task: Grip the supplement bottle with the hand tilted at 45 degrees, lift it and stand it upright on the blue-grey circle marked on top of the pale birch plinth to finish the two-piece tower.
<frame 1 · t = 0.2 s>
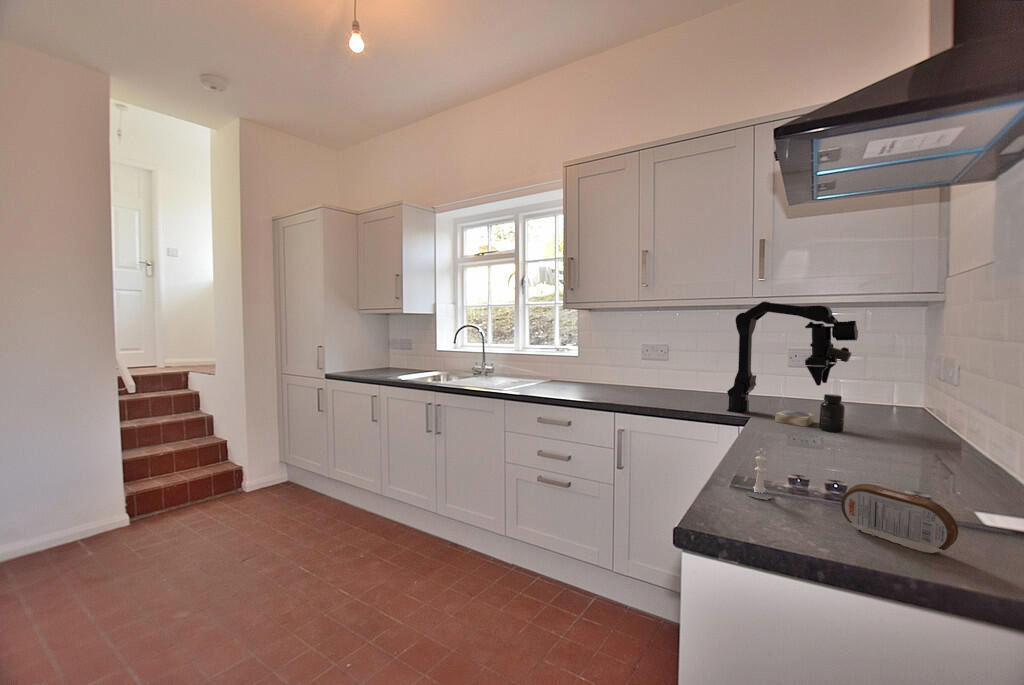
hand: (821, 384, 163), 14 cm above the counter, tool pointing down, fingers open, 9 cm apart
birch plinth: (794, 421, 166), on the counter
tin: (893, 542, 76), on the counter
chess piece: (759, 496, 95), on the counter
supplement bottle: (831, 430, 154), on the counter
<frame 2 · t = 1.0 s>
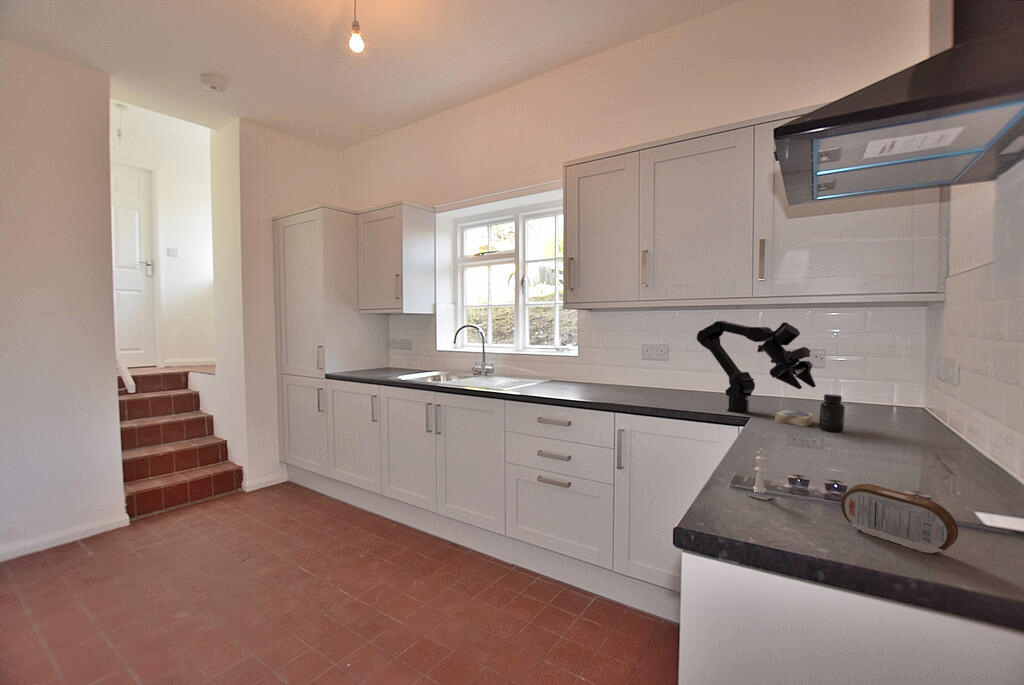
hand: (807, 387, 160), 13 cm above the counter, tool tilted 45°, fingers open, 9 cm apart
nothing on the counter moved.
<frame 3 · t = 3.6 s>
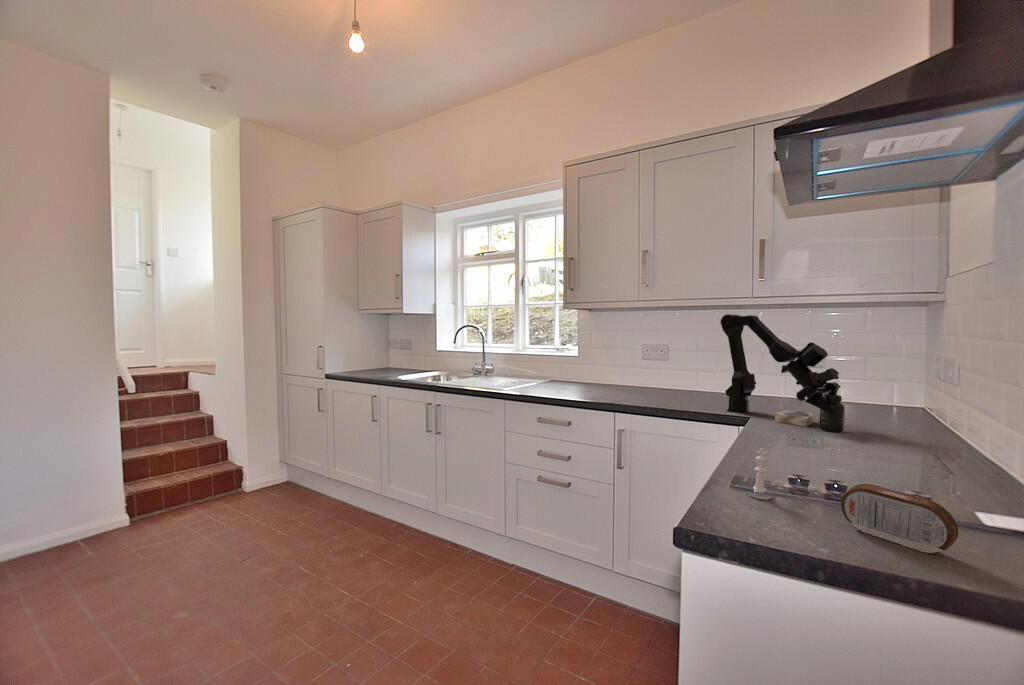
hand: (836, 411, 152), 7 cm above the counter, tool tilted 45°, fingers closed on supplement bottle, 7 cm apart
supplement bottle: (831, 430, 154), on the counter, touching gripper
everything else where it was.
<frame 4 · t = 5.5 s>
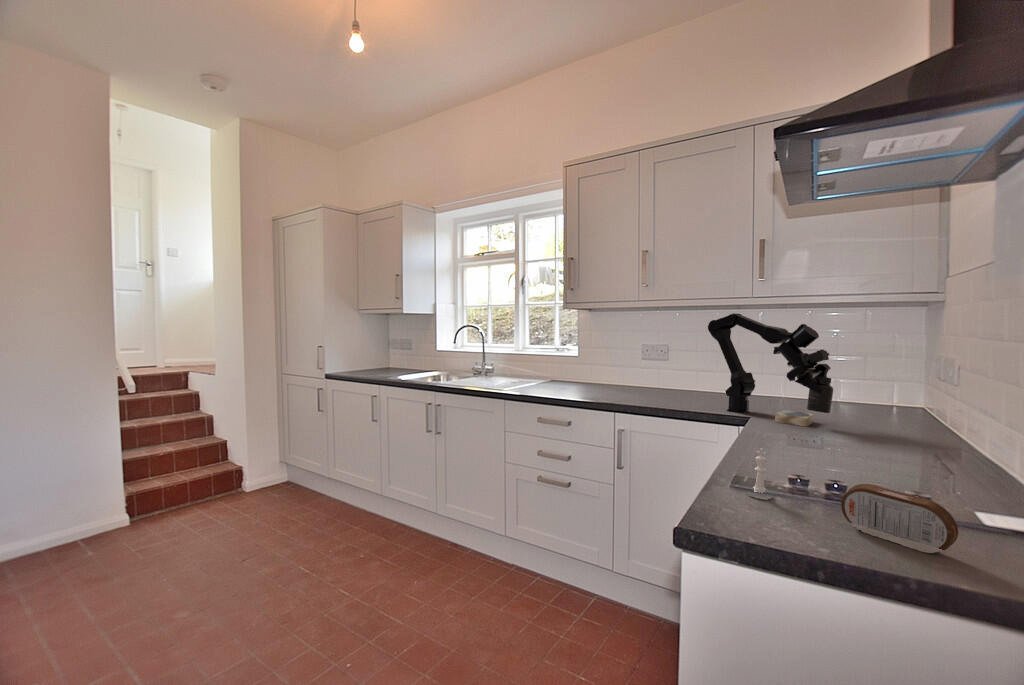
hand: (825, 391, 155), 13 cm above the counter, tool tilted 45°, fingers closed on supplement bottle, 7 cm apart
supplement bottle: (818, 412, 156), point 6 cm above the counter, touching gripper
everything else where it was.
when the fingers open (11 cm above the counter, at t = 7.2 s): supplement bottle stays where it is, resting on birch plinth.
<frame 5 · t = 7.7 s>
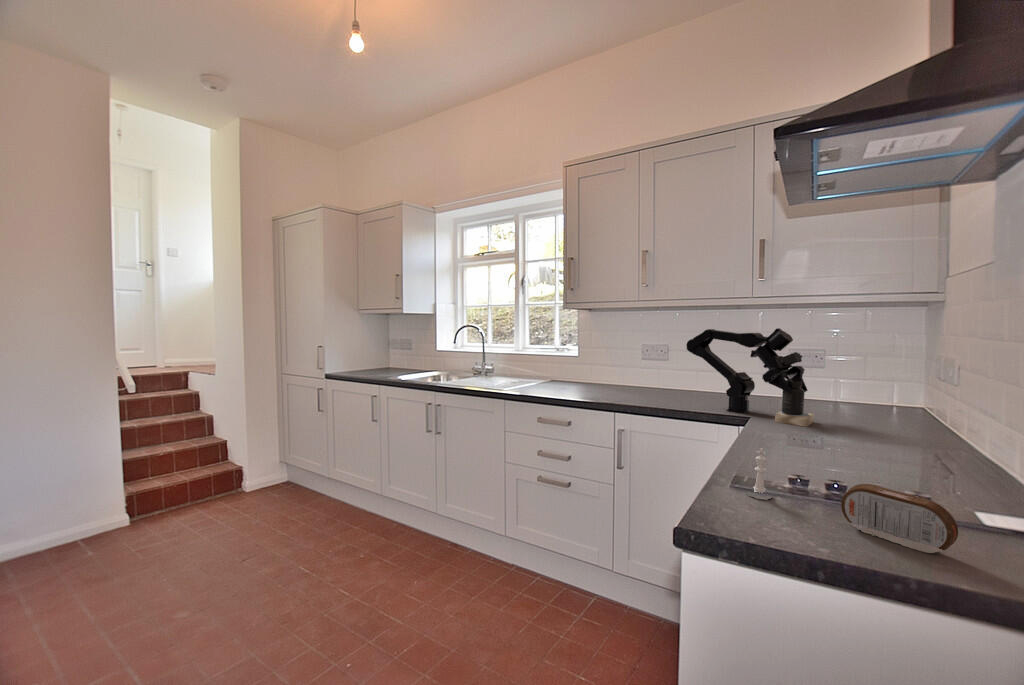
hand: (799, 392, 164), 11 cm above the counter, tool tilted 45°, fingers open, 9 cm apart
supplement bottle: (792, 414, 165), point 3 cm above the counter, touching birch plinth, gripper
everything else where it was.
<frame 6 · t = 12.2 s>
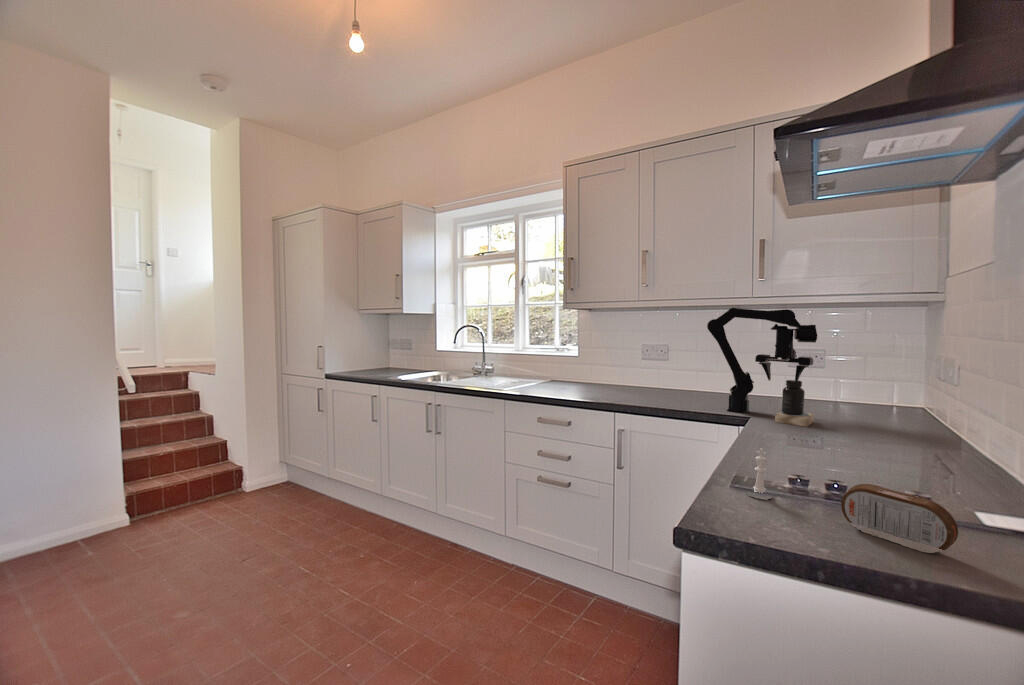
hand: (782, 381, 178), 13 cm above the counter, tool pointing down, fingers open, 9 cm apart
supplement bottle: (792, 414, 165), point 3 cm above the counter, touching birch plinth
everything else where it was.
at the end: supplement bottle 1.2 cm off-centre on the birch plinth, point 3.0 cm above the birch plinth's base; supplement bottle tilted 0°; the gripper is holding nothing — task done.
